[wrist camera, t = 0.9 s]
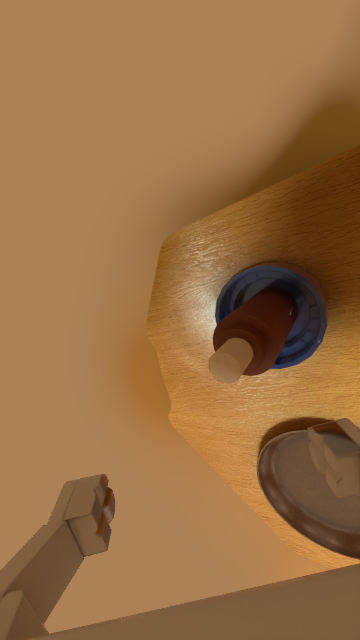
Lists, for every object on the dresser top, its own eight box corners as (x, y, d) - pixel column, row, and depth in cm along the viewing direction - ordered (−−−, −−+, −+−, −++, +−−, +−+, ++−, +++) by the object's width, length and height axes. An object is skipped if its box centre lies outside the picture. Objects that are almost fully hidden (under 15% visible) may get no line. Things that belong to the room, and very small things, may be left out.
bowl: (234, 255, 36) (221, 258, 32) (341, 269, 30) (341, 275, 26) (223, 339, 41) (210, 351, 37) (313, 365, 35) (309, 383, 31)
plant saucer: (236, 442, 46) (230, 456, 43) (347, 395, 34) (348, 410, 31) (317, 543, 43) (315, 564, 41) (467, 531, 31) (479, 559, 29)
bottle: (253, 283, 36) (192, 322, 21) (303, 292, 33) (272, 344, 18) (246, 326, 38) (186, 387, 23) (292, 337, 35) (256, 416, 20)
